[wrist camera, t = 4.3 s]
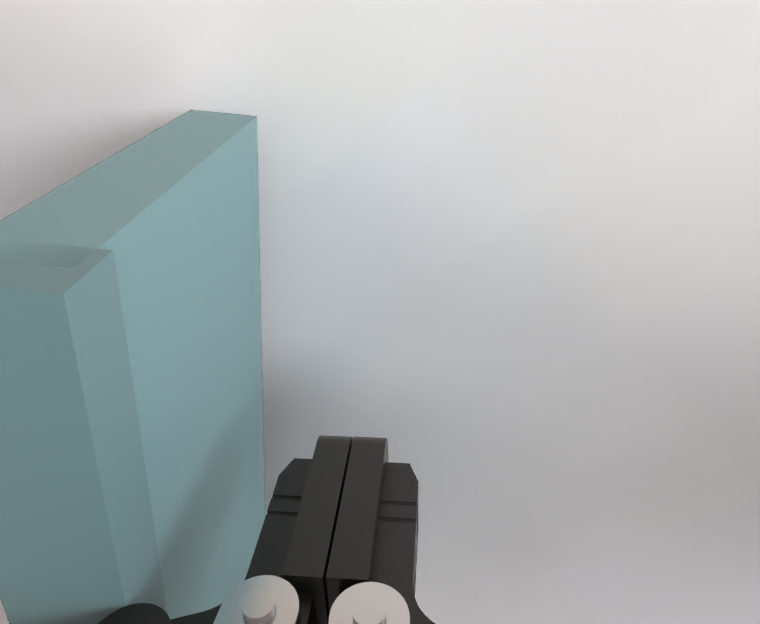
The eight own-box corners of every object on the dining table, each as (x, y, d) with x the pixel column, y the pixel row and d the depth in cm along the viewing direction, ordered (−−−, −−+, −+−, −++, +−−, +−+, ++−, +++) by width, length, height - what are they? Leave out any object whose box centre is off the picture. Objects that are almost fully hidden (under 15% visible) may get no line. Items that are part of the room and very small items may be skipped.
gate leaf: (274, 584, 24) (187, 917, 15) (223, 579, 24) (109, 907, 16) (269, 113, 15) (62, 293, 7) (188, 106, 15) (-115, 274, 7)
